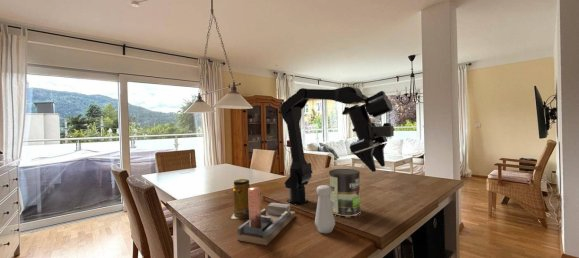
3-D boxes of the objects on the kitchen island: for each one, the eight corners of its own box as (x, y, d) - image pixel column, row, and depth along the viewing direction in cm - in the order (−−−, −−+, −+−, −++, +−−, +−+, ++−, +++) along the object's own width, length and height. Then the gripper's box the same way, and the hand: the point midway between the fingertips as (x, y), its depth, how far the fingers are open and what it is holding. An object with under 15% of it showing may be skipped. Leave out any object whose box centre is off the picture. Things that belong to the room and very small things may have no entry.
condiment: (235, 211, 92) (234, 178, 91) (258, 210, 92) (257, 177, 91) (230, 219, 84) (229, 183, 84) (255, 218, 84) (254, 182, 84)
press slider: (254, 224, 75) (252, 183, 75) (272, 227, 73) (271, 185, 72) (243, 233, 69) (241, 189, 69) (262, 236, 67) (260, 190, 67)
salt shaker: (313, 226, 76) (312, 184, 76) (332, 225, 77) (331, 183, 76) (317, 235, 70) (316, 189, 70) (337, 234, 71) (336, 188, 70)
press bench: (271, 212, 89) (270, 200, 88) (295, 215, 85) (294, 203, 85) (237, 239, 69) (236, 224, 69) (266, 245, 66) (265, 228, 66)
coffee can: (365, 210, 88) (365, 170, 87) (351, 220, 80) (350, 176, 80) (340, 204, 95) (339, 167, 94) (324, 212, 87) (323, 172, 87)
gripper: (375, 113, 71) (396, 167, 68) (393, 113, 86) (411, 157, 83) (341, 127, 77) (359, 177, 75) (363, 125, 92) (378, 166, 90)
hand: (379, 168), depth 80 cm, fingers open, 9 cm apart
